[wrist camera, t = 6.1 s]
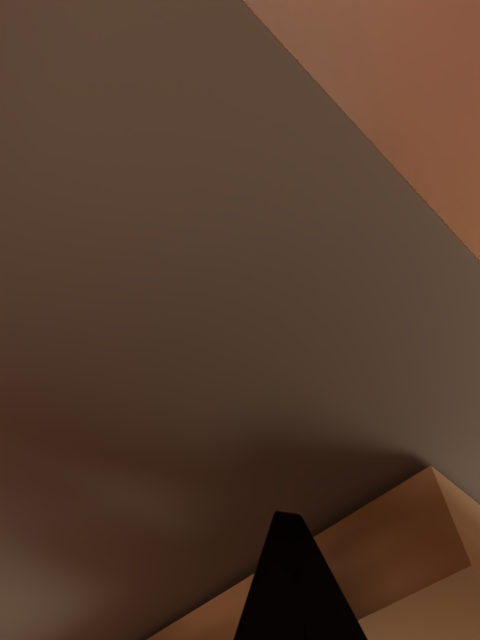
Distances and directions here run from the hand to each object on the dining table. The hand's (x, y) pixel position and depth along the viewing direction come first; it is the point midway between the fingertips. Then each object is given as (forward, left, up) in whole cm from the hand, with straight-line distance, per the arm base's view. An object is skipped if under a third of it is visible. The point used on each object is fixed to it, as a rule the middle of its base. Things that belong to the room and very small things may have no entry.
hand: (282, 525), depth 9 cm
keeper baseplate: (-5, 0, -2) cm, 6 cm away
